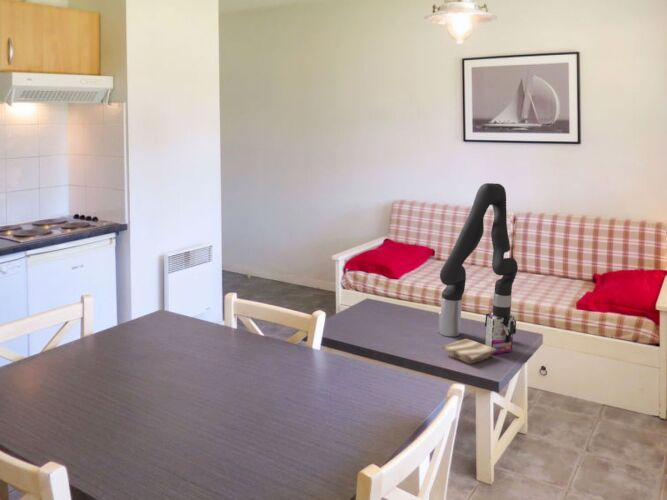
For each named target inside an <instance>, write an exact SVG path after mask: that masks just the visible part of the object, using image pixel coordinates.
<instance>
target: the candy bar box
mask: <svg viewBox="0 0 667 500" xmlns="http://www.w3.org/2000/svg"><path fill="white" fill-rule="evenodd" d="M509 318H510V320H515V315H513V314H511V313H510V317H509ZM503 320H504V318H503V317H499V316H495V315H491V316H487V327H486V329H485V330H486V331H485V332H486V333H485V343H484V345H486V346H489V347H492V348H495V349H497V350H496V352H493V353H490V354H489V355H491V356H494V355H500V354H507V353H511V352H513V339H514V338H513V337H514V334H513V335H511V341H510V342H509V343H505V341H506V335H507V334H506V332H505V331H504V330H503V328H502V322H503ZM508 324H510V323H508ZM507 326H508V325H507ZM507 326H505V327H506V328H507ZM509 326H510V325H509Z"/></svg>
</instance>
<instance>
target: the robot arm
mask: <svg viewBox="0 0 667 500" xmlns="http://www.w3.org/2000/svg"><path fill="white" fill-rule="evenodd" d="M472 203H473V204H472V206H471V209H470V211H469V213H468V216H467V218H466V221H465V223H464V225H463V227H462V228H461V231H460V233H459V235H458V237H457V239H456V242H455V244H454V246H453V248H452V250H451V253H450V254H449V256H448V257H447V259H446V261H445V263H444V264H443V266H442V268H441V270H440V272H439V277H440V281H441V283H442V284H443V285H445V286H446V287H445V288H444V289H443V290H442V292H441V304H440V305H441V306H440V312H439V313H438V322H437V323H438V324H437V325H438V326H437V333H439V334H440V335H442V336H443V337H449V338H450V337H458V336H460V333H461V320H462V304H463V303H462V302H463V295H464V293H465V288H466V280H467V279H466V278H467V273H466V272H467V271H466V268H465V266H463V264H464V262H465V261H466V260H467V259H468V258H469V256H470V255H471V254H473V252H474V251H475V250H476V248H477V247H478V245H479V243H480V241H481V239H482V237H483V235H484V231H485V227H484V226H485V225H484V220H485V214H486V212H487V210H488V208H489V207H490V206H492V209H493V221H492V226H491V231H490V236H491V237H490V238H491V243H492V249H493V250H492V251H493V252H492V260H491V261H492V262H491V268H492V271H493V273H494V274H495V275H497V276H502V277H501V278H499V279H496V281H495V284H494V291H493V292H494V294H493V299H492V301H493V302H492V312H489V313H486V314H485V319H484V320H485V322H484V327H487V316H491V315H492V314H491V313H493V315H495V316H499V317H503V318H504V320H503V322H502V328H503V330H504V331H505V332H506V334H507V335H506V341H505V343H509V342H510V341H511V335H513V336H514V335H515V334H516V333H517V332H516V331H517V320H515V319H514V320H510V318H509V317H510V314H511V311H512V310H511V309H512V299H513V298H512V291H513V290H512V289H513V284H514V282H515V279H516V276H517V273H518V266H519V265H518V263H517V260H516V259H515V258H513V257H506V258H504V256H505V254H506V253H508V252H510V250H511V244H510V238H509V232H508V223H507V222H508V221H507V220H508V218H507V216H508V215H507V192H506V189H505V187H504V186H503V185H502V184H501V183H492V182H491V183H489V182H488V183H483V184H481V186H479V188H478V189H477V192H476V194H475V196H474V200H473V202H472ZM508 323H510V324H508ZM507 325H508V326H507ZM509 325H510V326H509ZM505 326H507V328H506V327H505Z"/></svg>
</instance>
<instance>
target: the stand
mask: <svg viewBox="0 0 667 500" xmlns="http://www.w3.org/2000/svg"><path fill="white" fill-rule="evenodd" d="M441 347H442V348H441V349H443V350H446V351H447V352H448V356H449V355H450V357H451V356H452V358H454V357H455V358H454V359H456V360H459V361H461V362H462V361H463V362H464V363H466V364H470V365H472V364H475V363H478V362H481V361H484V360H486V359H489V358H490V355H491V354H490V353H493V352H496V350H497V349H495V348H492V347H489V346H486V345H485V344H484V343H480V342H478V341H475V340H472V339H469V338H464V339H461V340H457V341H454V342H451V343H447V344H445V345H443V346H441Z"/></svg>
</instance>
